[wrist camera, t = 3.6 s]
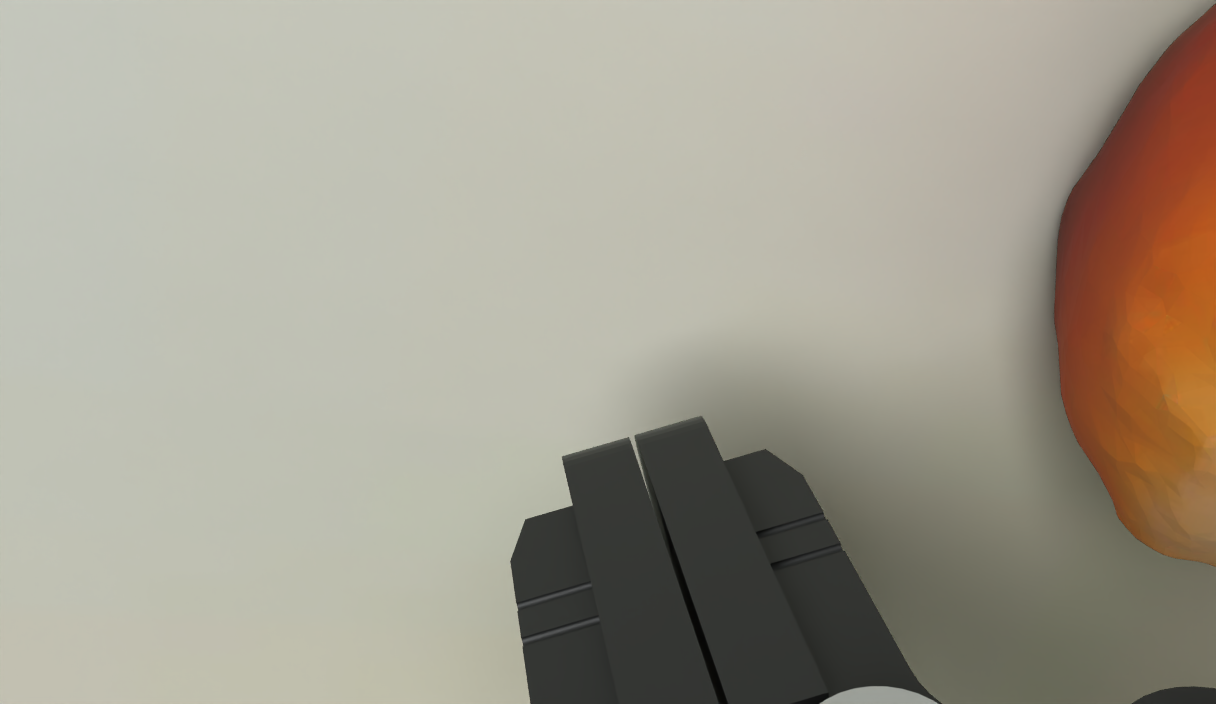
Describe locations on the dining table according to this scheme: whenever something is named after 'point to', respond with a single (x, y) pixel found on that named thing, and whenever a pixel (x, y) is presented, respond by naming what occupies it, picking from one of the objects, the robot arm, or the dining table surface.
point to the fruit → (1149, 304)
